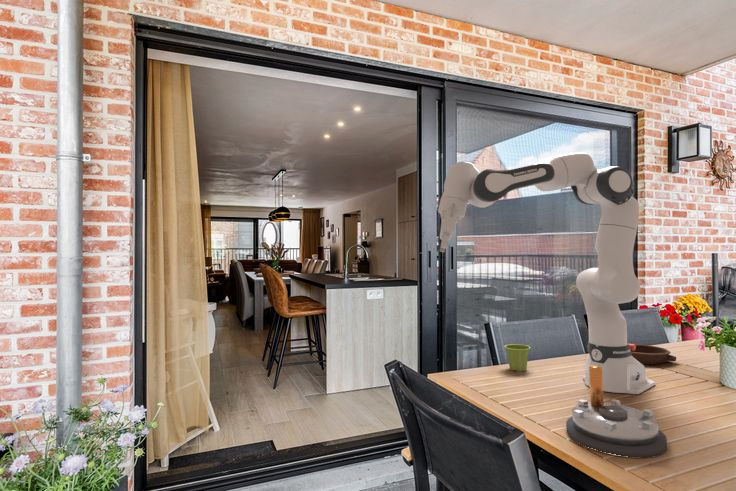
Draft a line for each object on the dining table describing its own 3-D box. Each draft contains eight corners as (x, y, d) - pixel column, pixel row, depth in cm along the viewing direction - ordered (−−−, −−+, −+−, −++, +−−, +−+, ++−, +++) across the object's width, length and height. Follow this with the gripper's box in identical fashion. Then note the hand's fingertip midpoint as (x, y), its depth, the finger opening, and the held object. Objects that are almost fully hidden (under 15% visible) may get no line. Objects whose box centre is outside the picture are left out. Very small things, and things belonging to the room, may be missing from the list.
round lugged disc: (602, 409, 114) (601, 361, 114) (675, 434, 98) (673, 378, 98) (556, 422, 106) (554, 371, 107) (627, 452, 90) (625, 391, 90)
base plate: (601, 414, 116) (601, 407, 116) (686, 444, 97) (686, 436, 97) (548, 430, 107) (547, 423, 107) (630, 467, 88) (630, 458, 88)
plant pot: (501, 366, 166) (500, 344, 166) (524, 365, 166) (523, 343, 166) (511, 373, 156) (510, 350, 156) (535, 372, 157) (534, 348, 157)
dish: (677, 370, 155) (677, 356, 155) (609, 362, 167) (608, 350, 167) (675, 359, 169) (675, 346, 169) (612, 353, 182) (612, 341, 182)
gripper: (464, 204, 128) (454, 247, 126) (459, 217, 148) (450, 255, 146) (444, 199, 129) (433, 243, 127) (441, 213, 149) (432, 251, 147)
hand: (442, 249), depth 137 cm, fingers open, 8 cm apart
